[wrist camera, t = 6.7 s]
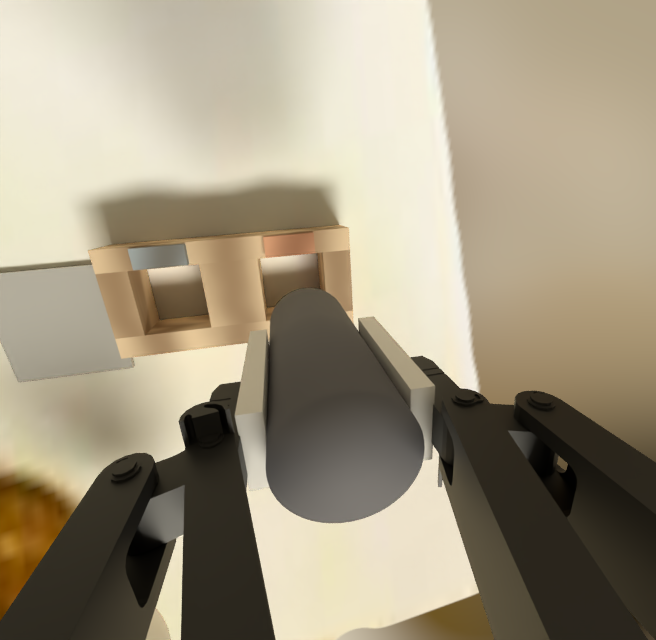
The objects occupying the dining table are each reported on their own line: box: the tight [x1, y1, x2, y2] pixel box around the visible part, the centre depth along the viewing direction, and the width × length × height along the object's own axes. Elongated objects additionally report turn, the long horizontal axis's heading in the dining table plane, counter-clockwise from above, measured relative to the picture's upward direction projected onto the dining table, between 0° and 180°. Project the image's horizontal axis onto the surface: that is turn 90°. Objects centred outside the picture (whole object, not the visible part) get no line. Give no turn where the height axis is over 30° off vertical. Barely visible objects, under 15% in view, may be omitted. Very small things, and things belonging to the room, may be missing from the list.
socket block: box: [88, 225, 353, 359], centre depth 29 cm, size 20×9×5 cm, turn 95°
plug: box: [266, 288, 425, 523], centre depth 14 cm, size 4×4×11 cm
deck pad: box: [0, 264, 135, 382], centre depth 30 cm, size 10×10×1 cm
